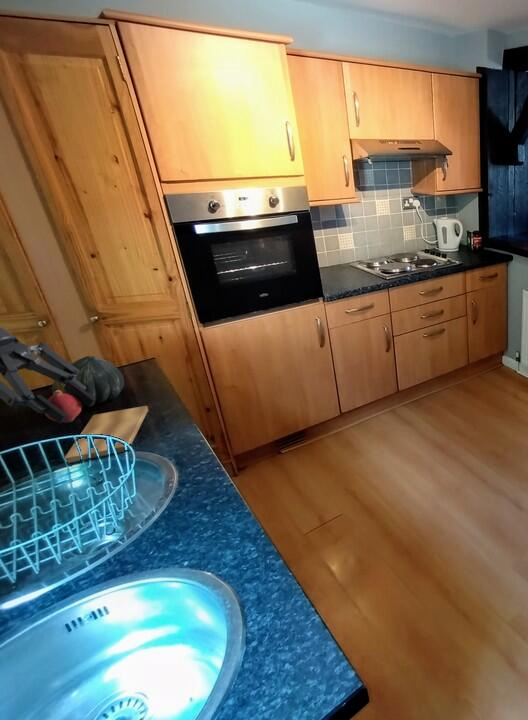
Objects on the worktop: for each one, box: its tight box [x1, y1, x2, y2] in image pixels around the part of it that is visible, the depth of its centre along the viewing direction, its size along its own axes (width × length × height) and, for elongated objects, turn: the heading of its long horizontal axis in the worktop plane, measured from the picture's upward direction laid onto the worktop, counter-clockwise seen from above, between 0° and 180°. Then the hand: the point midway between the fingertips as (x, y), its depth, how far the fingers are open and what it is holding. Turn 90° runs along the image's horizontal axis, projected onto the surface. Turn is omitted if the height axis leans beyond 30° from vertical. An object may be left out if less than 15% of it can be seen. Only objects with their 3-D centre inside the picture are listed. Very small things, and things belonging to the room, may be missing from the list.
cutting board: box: [64, 405, 149, 464], centre depth 118 cm, size 12×20×2 cm, turn 25°
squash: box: [51, 355, 125, 408], centre depth 130 cm, size 14×15×15 cm
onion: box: [44, 390, 83, 423], centre depth 99 cm, size 6×6×8 cm
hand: (78, 410), depth 99 cm, fingers closed on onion, 6 cm apart
